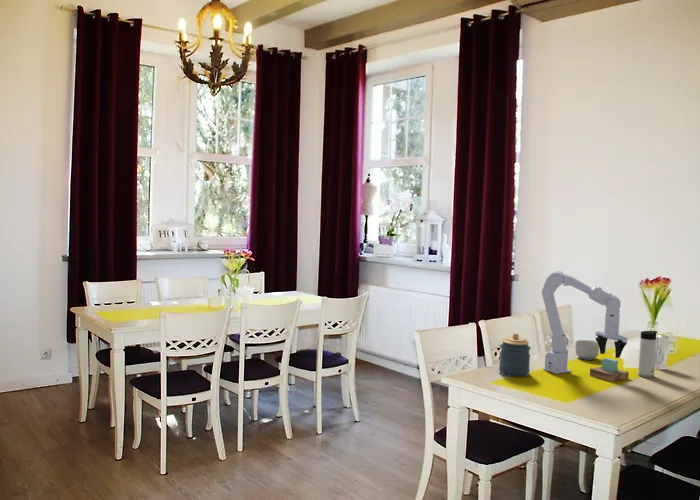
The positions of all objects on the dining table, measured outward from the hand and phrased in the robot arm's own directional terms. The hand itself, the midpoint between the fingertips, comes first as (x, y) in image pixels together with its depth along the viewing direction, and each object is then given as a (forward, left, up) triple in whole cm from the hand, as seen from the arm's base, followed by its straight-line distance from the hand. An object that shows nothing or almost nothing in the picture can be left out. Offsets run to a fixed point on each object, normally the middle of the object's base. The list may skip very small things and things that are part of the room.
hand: (610, 355), depth 274 cm
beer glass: (+35, 0, -10) cm, 36 cm away
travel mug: (+17, -6, -10) cm, 20 cm away
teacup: (+20, +29, -10) cm, 37 cm away
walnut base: (0, 0, -9) cm, 9 cm away
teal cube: (0, 0, -6) cm, 6 cm away
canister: (-34, +22, -10) cm, 42 cm away
